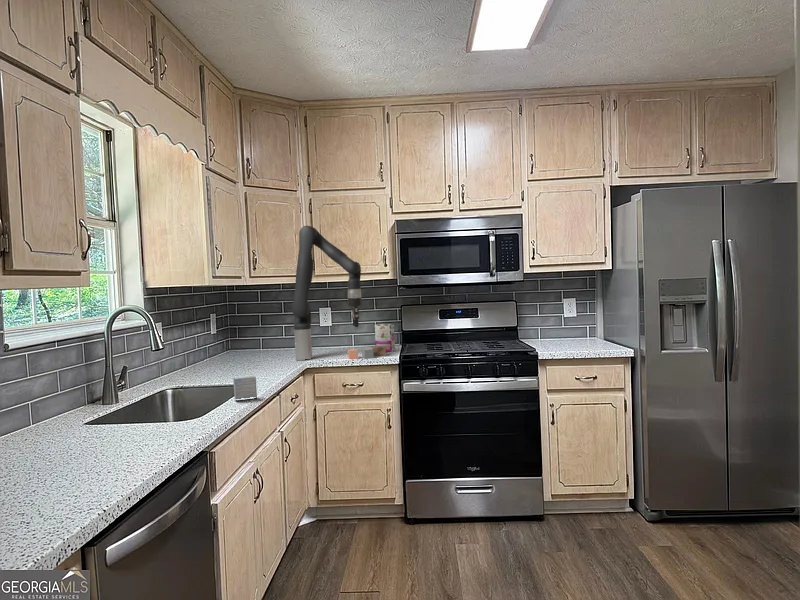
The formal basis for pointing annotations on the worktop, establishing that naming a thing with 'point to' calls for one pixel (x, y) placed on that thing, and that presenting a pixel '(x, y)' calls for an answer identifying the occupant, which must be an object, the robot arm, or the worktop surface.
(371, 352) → the slate cube
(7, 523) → the worktop surface
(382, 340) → the candy bar box
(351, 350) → the terracotta cube
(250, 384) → the medicine box
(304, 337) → the robot arm
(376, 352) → the walnut block
